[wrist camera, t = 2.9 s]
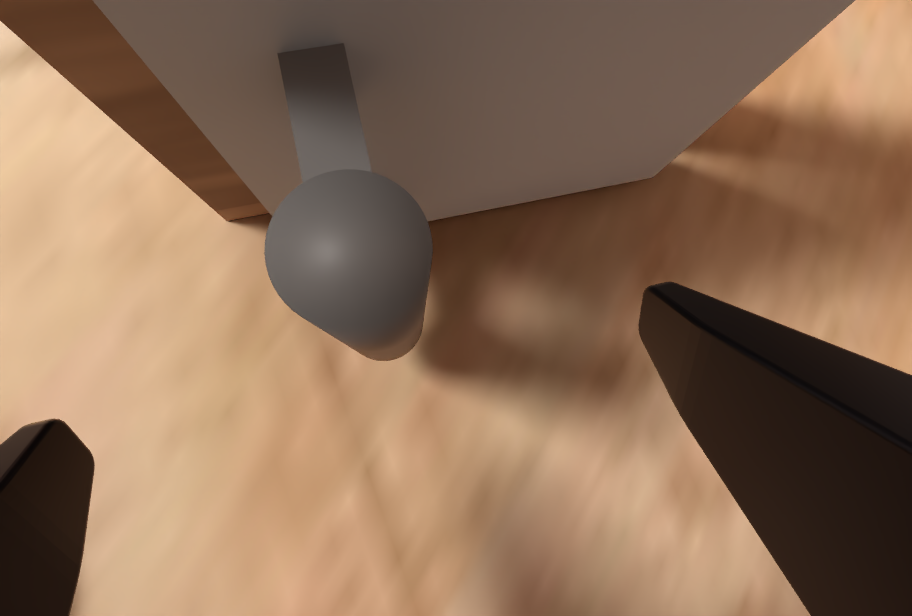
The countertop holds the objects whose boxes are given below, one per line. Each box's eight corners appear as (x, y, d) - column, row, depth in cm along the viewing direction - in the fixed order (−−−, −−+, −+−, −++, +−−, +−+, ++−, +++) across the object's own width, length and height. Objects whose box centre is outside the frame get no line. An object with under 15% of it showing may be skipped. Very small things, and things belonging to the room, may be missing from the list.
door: (688, 297, 18) (1656, -18, 4) (323, 379, 16) (-176, 338, 3) (643, 145, 18) (1328, -573, 5) (290, 212, 17) (-233, -532, 3)
